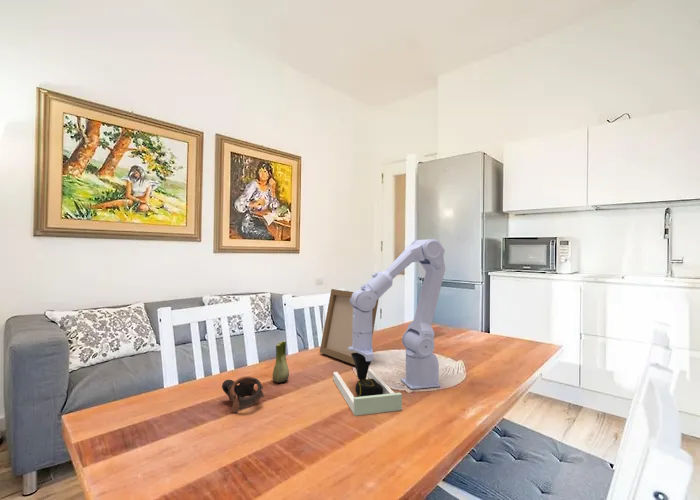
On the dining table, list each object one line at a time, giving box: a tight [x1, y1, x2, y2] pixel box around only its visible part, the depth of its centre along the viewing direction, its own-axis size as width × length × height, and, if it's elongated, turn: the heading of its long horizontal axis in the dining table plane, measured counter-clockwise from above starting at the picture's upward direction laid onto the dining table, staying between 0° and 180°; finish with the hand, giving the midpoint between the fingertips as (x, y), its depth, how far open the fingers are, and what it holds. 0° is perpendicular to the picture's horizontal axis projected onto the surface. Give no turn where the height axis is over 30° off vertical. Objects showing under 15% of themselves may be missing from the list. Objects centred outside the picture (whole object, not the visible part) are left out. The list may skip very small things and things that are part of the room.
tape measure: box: [355, 378, 383, 397], centre depth 98 cm, size 7×7×4 cm
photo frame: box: [319, 288, 379, 366], centre depth 133 cm, size 15×22×25 cm
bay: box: [332, 368, 403, 417], centre depth 100 cm, size 12×24×4 cm, turn 15°
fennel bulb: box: [271, 340, 290, 384], centre depth 109 cm, size 6×5×12 cm
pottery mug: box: [221, 375, 265, 414], centre depth 92 cm, size 12×10×8 cm
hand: (361, 378), depth 102 cm, fingers closed
